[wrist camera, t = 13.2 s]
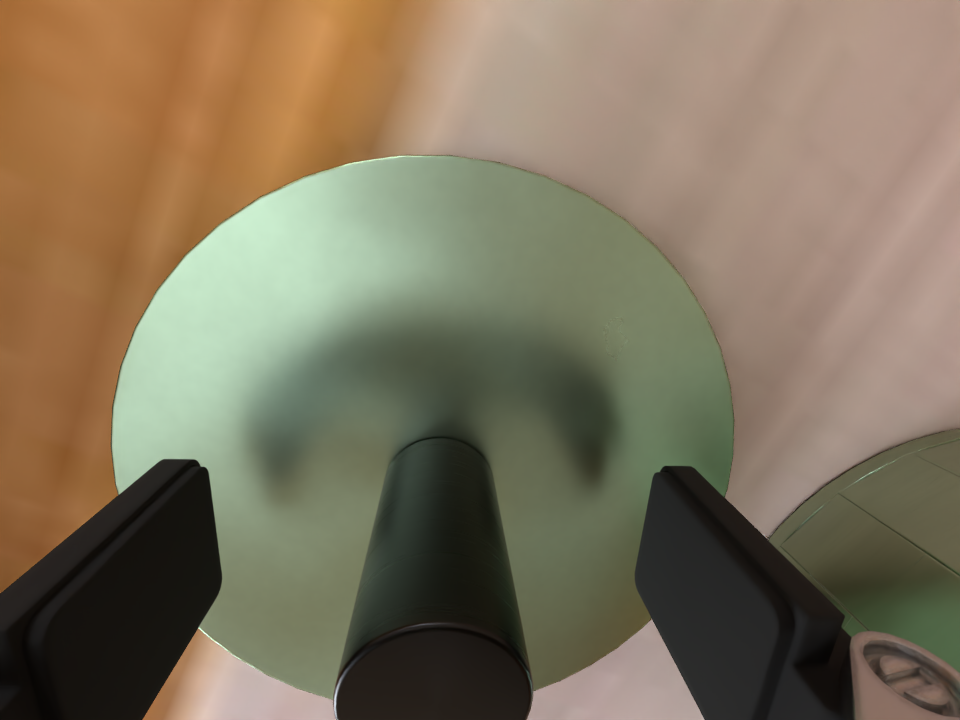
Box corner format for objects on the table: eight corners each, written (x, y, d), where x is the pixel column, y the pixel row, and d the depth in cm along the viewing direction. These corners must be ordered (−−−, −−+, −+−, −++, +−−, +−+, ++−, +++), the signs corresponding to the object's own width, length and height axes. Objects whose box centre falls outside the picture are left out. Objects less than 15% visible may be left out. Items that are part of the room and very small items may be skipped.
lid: (89, 137, 10) (-584, -31, 3) (766, 184, 11) (1201, 129, 5) (183, 681, 14) (-32, 1057, 8) (659, 667, 16) (810, 978, 9)
